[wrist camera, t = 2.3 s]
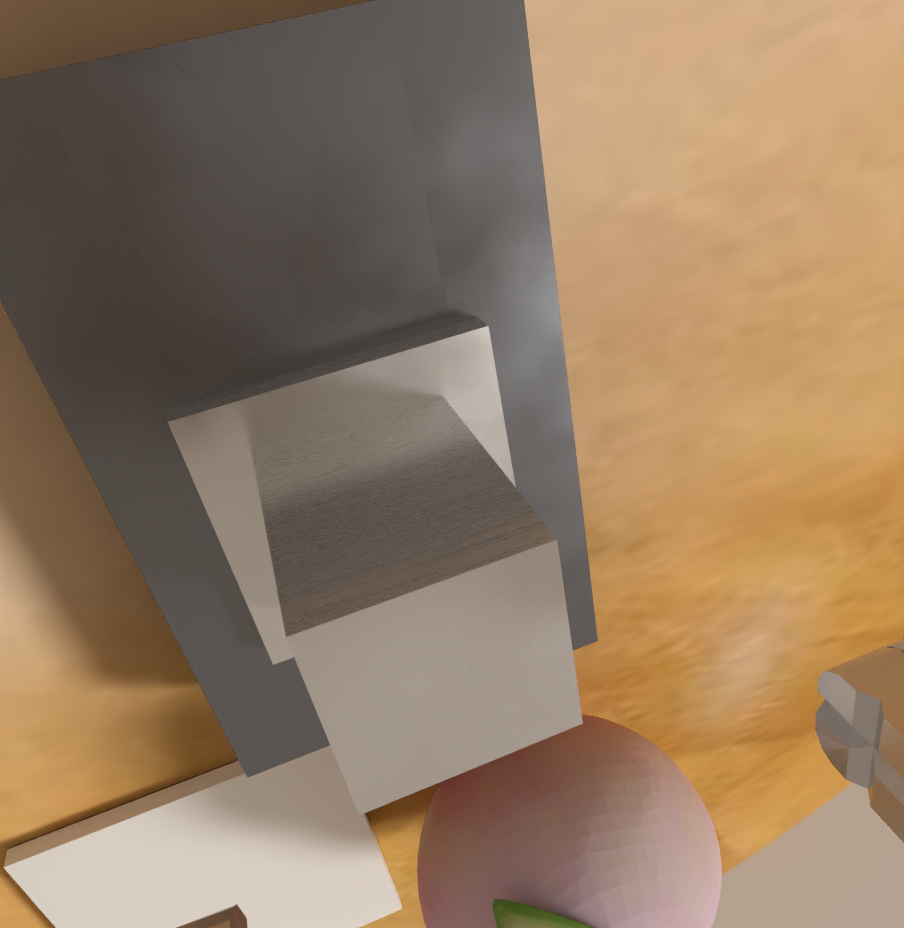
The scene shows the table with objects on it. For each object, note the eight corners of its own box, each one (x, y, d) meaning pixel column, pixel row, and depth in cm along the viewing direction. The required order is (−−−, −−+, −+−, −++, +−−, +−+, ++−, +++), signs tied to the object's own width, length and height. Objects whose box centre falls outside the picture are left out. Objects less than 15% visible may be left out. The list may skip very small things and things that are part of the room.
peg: (257, 566, 21) (308, 886, 13) (169, 352, 17) (162, 602, 9) (475, 492, 22) (648, 742, 14) (431, 277, 18) (626, 443, 10)
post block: (238, 683, 22) (247, 777, 19) (-44, 93, 14) (-102, 102, 11) (546, 570, 24) (597, 640, 21) (456, -13, 16) (520, -31, 13)
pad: (140, 1006, 28) (139, 1023, 27) (7, 849, 22) (3, 867, 22) (398, 893, 29) (402, 908, 29) (330, 724, 24) (333, 739, 24)
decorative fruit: (663, 684, 28) (866, 943, 20) (532, 832, 30) (669, 1128, 22) (483, 601, 24) (650, 894, 15) (340, 781, 25) (419, 1135, 17)
